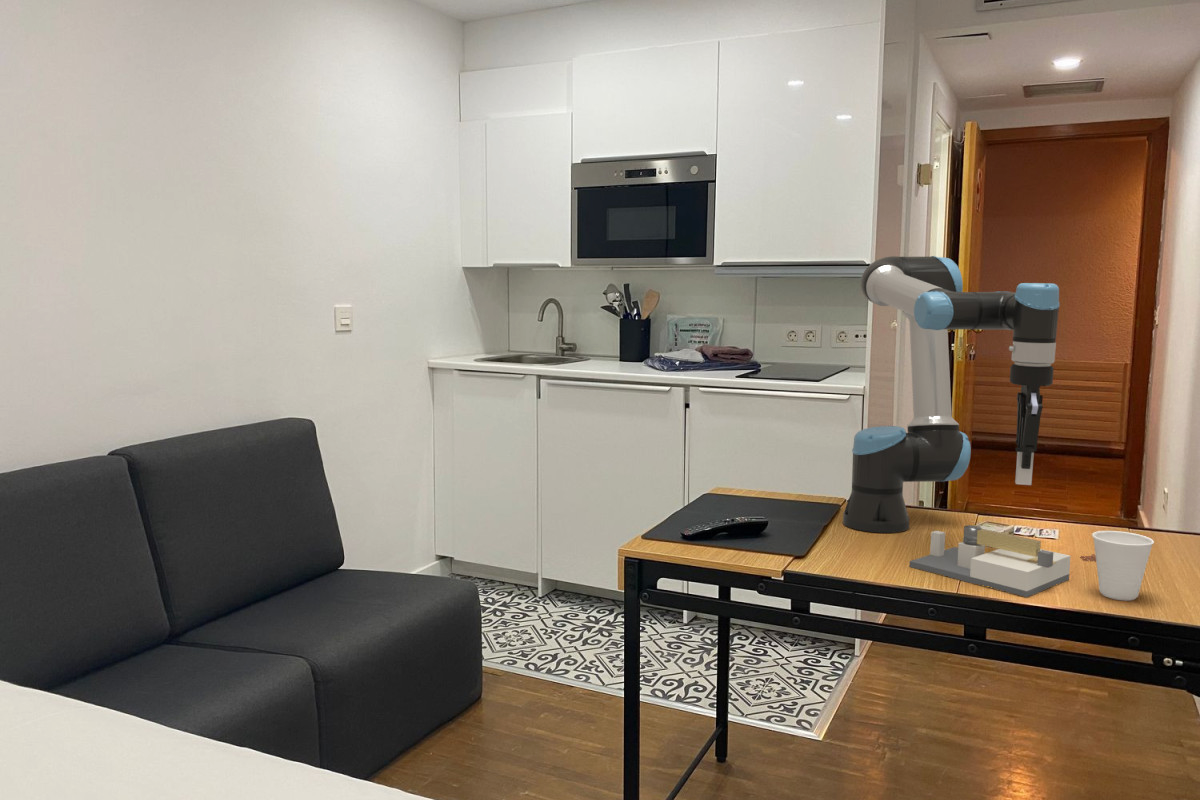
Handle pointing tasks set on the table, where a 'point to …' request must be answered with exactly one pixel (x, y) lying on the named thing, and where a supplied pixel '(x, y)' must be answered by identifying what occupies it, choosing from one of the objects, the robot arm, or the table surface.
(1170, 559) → the table surface
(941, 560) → the door board
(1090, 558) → the key
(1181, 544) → the table surface
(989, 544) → the latch bar
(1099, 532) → the cup
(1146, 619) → the table surface
